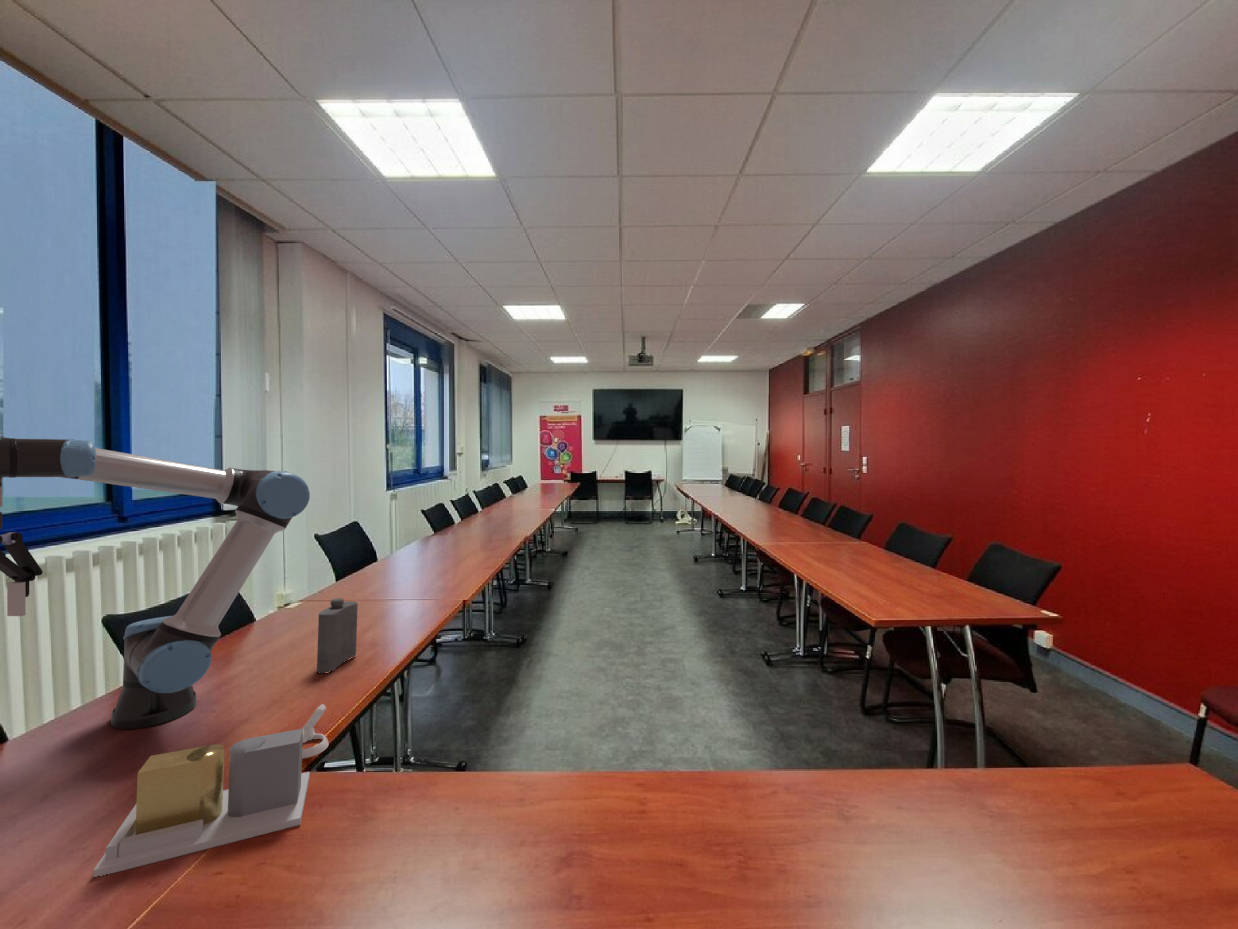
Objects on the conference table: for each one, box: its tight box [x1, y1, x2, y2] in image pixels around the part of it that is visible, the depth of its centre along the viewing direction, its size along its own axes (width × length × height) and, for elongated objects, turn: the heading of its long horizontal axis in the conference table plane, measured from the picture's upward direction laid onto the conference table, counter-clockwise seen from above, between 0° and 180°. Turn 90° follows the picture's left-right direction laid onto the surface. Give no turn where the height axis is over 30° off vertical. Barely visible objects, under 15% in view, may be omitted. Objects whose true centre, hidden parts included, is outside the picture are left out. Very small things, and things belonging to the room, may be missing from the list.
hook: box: [301, 703, 330, 760], centre depth 106 cm, size 8×12×7 cm
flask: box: [316, 597, 359, 673], centre depth 151 cm, size 15×6×20 cm, turn 177°
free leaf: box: [135, 744, 225, 835], centre depth 83 cm, size 10×5×11 cm, turn 116°
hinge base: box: [93, 728, 311, 878], centre depth 85 cm, size 26×14×12 cm, turn 117°
